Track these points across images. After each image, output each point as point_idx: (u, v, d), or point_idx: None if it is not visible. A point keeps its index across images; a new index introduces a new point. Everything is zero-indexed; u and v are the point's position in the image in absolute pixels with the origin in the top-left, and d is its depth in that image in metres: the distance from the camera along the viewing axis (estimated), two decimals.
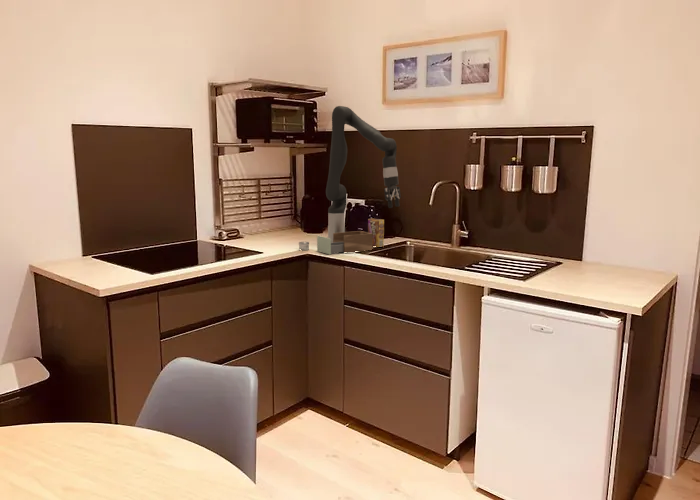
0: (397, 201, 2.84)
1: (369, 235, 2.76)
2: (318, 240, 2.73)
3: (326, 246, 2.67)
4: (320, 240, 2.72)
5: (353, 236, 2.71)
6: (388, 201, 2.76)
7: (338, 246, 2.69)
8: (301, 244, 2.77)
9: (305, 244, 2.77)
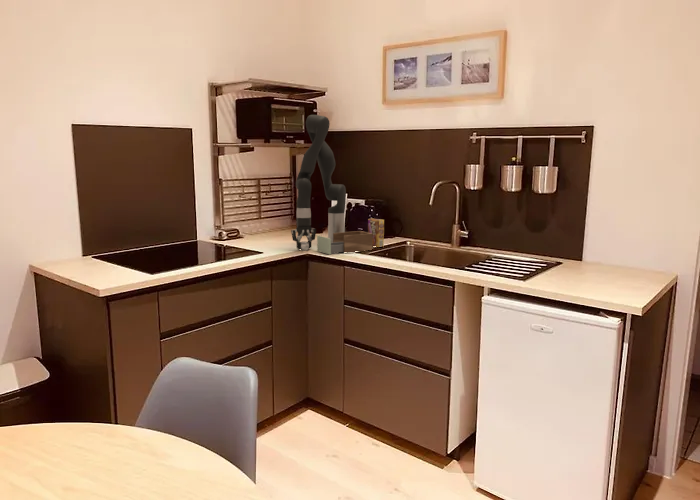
0: None
1: (369, 235, 2.76)
2: (318, 240, 2.73)
3: (326, 246, 2.67)
4: (320, 240, 2.72)
5: (353, 236, 2.71)
6: (296, 242, 2.78)
7: (338, 246, 2.69)
8: (301, 244, 2.77)
9: (305, 244, 2.77)
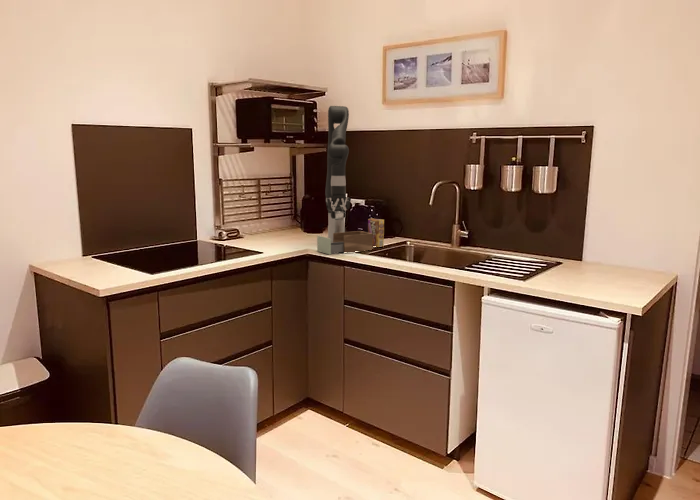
0: None
1: (369, 235, 2.76)
2: (318, 240, 2.73)
3: (326, 246, 2.67)
4: (320, 240, 2.72)
5: (353, 236, 2.71)
6: (331, 211, 2.70)
7: (338, 246, 2.69)
8: (336, 213, 2.69)
9: (340, 213, 2.69)
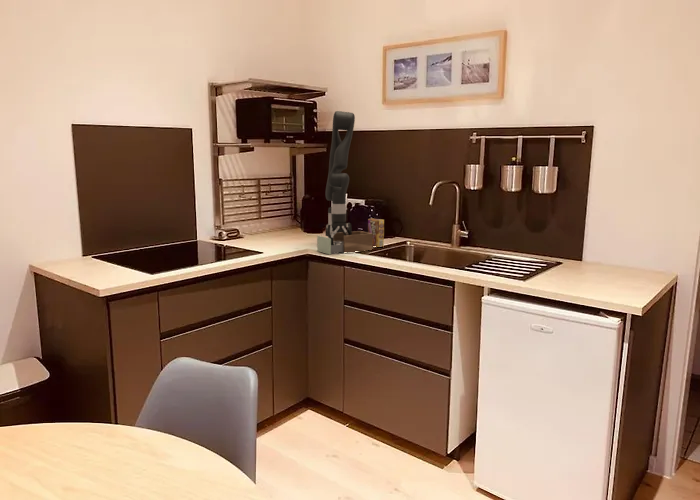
0: None
1: (369, 235, 2.76)
2: (318, 240, 2.73)
3: (326, 246, 2.67)
4: (320, 240, 2.72)
5: (353, 236, 2.71)
6: None
7: (338, 246, 2.69)
8: (336, 243, 2.72)
9: (340, 243, 2.72)
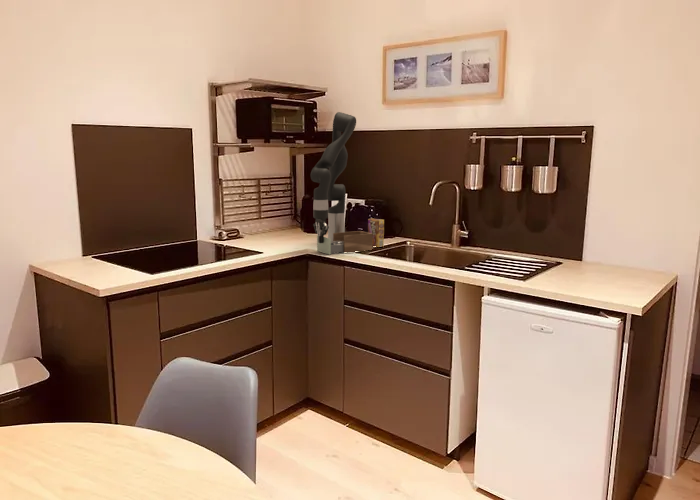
0: None
1: (369, 235, 2.76)
2: None
3: (325, 246, 2.67)
4: None
5: (353, 236, 2.71)
6: None
7: (338, 246, 2.69)
8: (336, 243, 2.72)
9: (340, 243, 2.72)
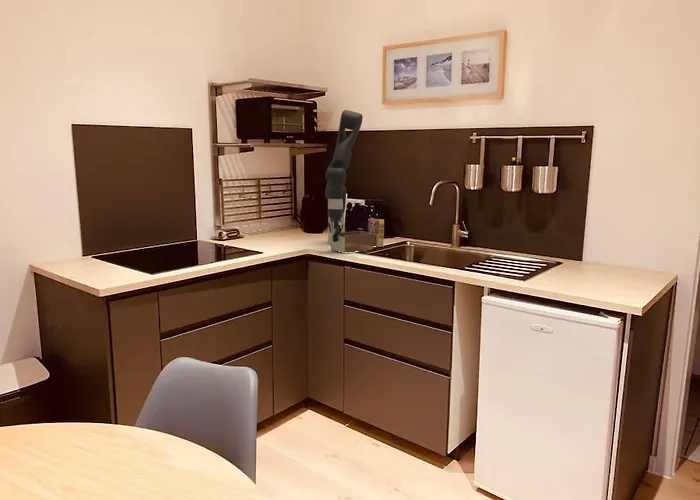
0: None
1: (369, 235, 2.76)
2: None
3: (339, 245, 2.71)
4: None
5: (353, 236, 2.71)
6: None
7: None
8: None
9: None
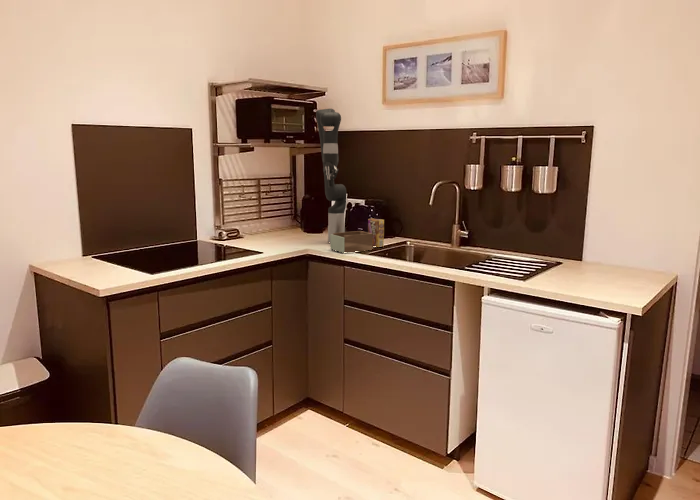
0: None
1: (369, 235, 2.76)
2: (332, 239, 2.77)
3: (339, 245, 2.71)
4: (333, 239, 2.76)
5: (353, 236, 2.71)
6: None
7: None
8: None
9: None
